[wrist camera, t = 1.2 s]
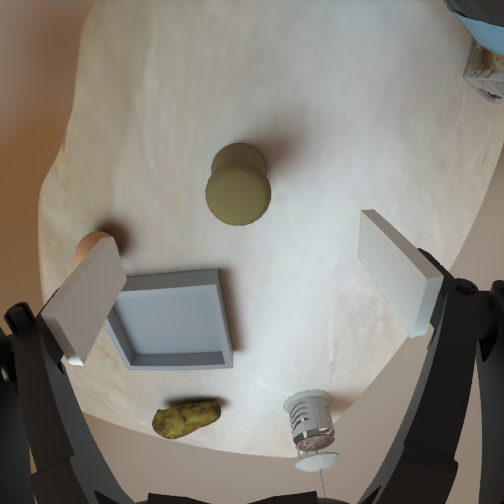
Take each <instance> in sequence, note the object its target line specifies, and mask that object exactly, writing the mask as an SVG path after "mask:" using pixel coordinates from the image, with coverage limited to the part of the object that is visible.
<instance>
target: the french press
mask: <svg viewBox="0 0 504 504" xmlns="http://www.w3.org/2000/svg"><path fill="white" fill-rule="evenodd" d="M330 401H331V396H330V394H329V393H327V392H326V391H322V390H307V391H303V392H300V393H296V394H295V395H293V396H291V397H289V398H288V399H287V400H286V401H285V402H284V406H283V408H284V410H285V411H286V412H287V413H289V415H290V422H291V428H292V434H293V435H292V436H293V441H294V443H295V444H296V448H297V450H298V455H299V459H300V454H299V451H306V457H304V458H302V459H300V460H299V461H298V462H297V464H296V467H297V468H298V469H300V470H303V471H307V472H314V471H320V476H321V481H322V487H323V493H324V498H326V497H325V491H324V486H323V480H322V474H321V471H322V470H326V469H328V468H329V467H331V466H333V465H334V464H336V463H337V462H338V461H339V460H340V458H341V456H340V454H338V453H336V452H323V453H318V452H317V450H319V449H323V448H325V447H328V446H329V445H330V444H332V443H333V441H334V440H335V439H334V437H333V435H334V433H335V432H334V427H333V423H332V419H331V415H330V414H329V413H330V411H329V407H328V405H329V403H330ZM328 412H329V413H328ZM327 413H328V414H327ZM329 417H330V420H328V418H329ZM302 418H304V421H302V422H301V419H302ZM291 419H292V421H291ZM292 424H293V426H292ZM320 428H328V429H326V430H324V431H319V429H320ZM293 429H294V431H293ZM330 429H332V431H331V433H330V434H329V435H328V434H323V433H326V432H329V430H330ZM304 431H306V432H307V437H306V438H304V436H303V432H304ZM315 450H316V454H313V455H309V456H308V455H307V451H315Z"/></svg>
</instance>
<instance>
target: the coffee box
mask: <svg viewBox="0 0 504 504" xmlns="http://www.w3.org/2000/svg"><path fill="white" fill-rule="evenodd" d="M463 78H464V79H465V80H466V81H467V82H468V83H469V84H470V85H471V86H472V87H473V88H475V89H476V90H477V91H478V92H479V93H480V94H481V95H482V96H483V97H484V98H485V99H486V100H487V101H488V102H494V103H500V104H504V56H502V55H500V54H498V53H494V52H492V51H490V50H488V49H486V48H485V47H483V46H482V45H481V44H479V43H478V42H477V41H476V40H475V38H474V41H473V45H472V48H471V52H470V55H469V59H468V62H467V66H466V69H465V72H464V75H463Z"/></svg>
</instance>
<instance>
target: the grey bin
mask: <svg viewBox="0 0 504 504" xmlns="http://www.w3.org/2000/svg"><path fill="white" fill-rule="evenodd" d="M126 278H127V281H126V283H125V284H124V286H123V288H122V290H121V292H120V294H119V295H118V297H117V299H116V301H115V303H114V305H113V307H112V309H111V310H110V312H109V314H108V316H107V318H106V320H105V322H104V325H105V327H106V329H107V331H108V333H109V335H110V337H111V339H112V341H113V343H114V345H115V347H116V349H117V351H118V353H119V355H120V357H121V358H122V360H123V362H124V364H125V366H126V368H127V369H128V370H206V369H226V368H233V347H232V342H231V337H230V332H229V327H228V322H227V317H226V311H225V306H224V301H223V295H222V290H221V284H220V279H219V273H218V269H210V270H199V271H189V272H178V273H167V274H156V275H144V276H133V277H126Z"/></svg>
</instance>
